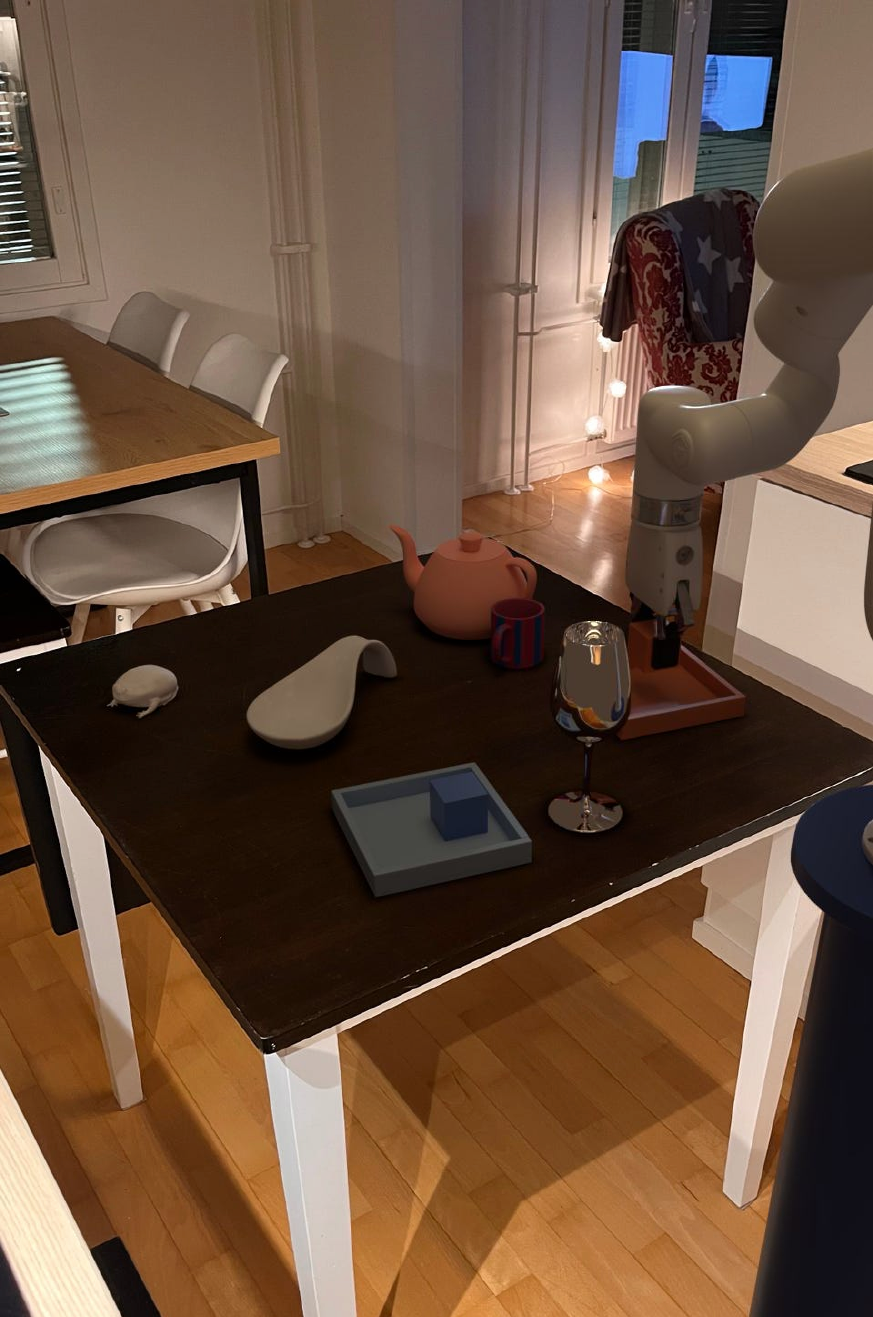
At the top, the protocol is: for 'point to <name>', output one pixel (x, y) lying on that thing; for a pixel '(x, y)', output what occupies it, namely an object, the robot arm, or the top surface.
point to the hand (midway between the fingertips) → (653, 656)
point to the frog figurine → (145, 688)
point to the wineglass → (590, 714)
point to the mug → (517, 633)
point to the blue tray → (422, 833)
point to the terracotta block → (644, 644)
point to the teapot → (463, 583)
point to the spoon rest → (317, 695)
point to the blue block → (458, 806)
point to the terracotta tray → (679, 698)
